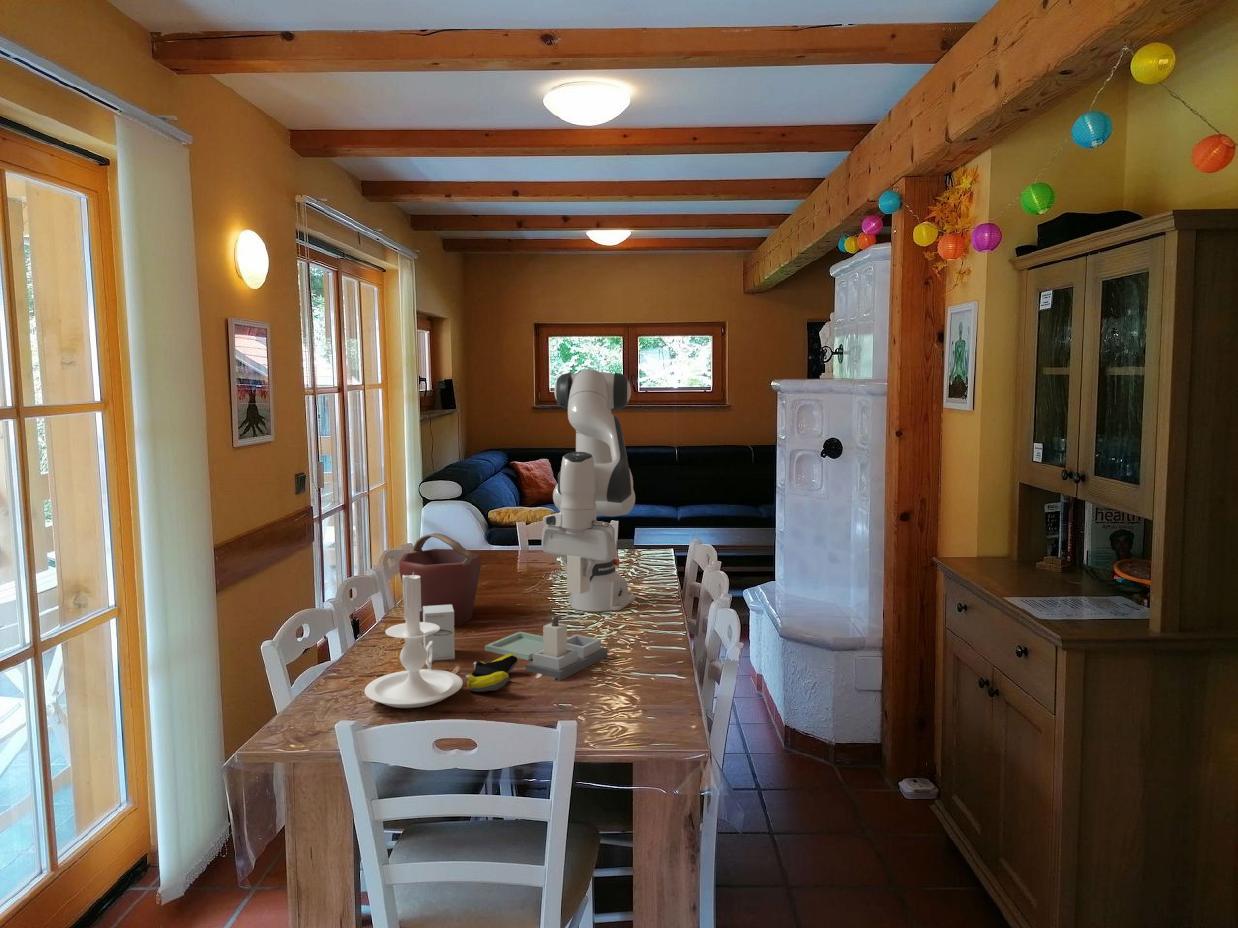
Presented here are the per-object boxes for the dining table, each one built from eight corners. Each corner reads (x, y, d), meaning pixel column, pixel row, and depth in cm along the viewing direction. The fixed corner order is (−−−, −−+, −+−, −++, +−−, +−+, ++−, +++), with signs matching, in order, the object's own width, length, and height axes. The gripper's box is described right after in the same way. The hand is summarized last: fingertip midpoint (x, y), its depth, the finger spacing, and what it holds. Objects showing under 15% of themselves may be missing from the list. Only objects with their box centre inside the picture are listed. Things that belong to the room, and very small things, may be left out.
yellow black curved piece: (519, 674, 197) (477, 673, 198) (518, 651, 197) (476, 650, 197) (507, 698, 182) (462, 697, 183) (507, 674, 182) (461, 673, 182)
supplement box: (424, 663, 204) (423, 613, 203) (423, 654, 211) (422, 605, 210) (455, 661, 206) (454, 611, 205) (453, 651, 213) (452, 603, 212)
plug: (576, 588, 209) (576, 545, 208) (589, 590, 206) (589, 546, 205) (567, 591, 205) (566, 547, 204) (580, 594, 203) (580, 549, 202)
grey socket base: (574, 649, 215) (574, 599, 213) (607, 656, 209) (607, 605, 208) (525, 672, 198) (525, 619, 196) (559, 680, 192) (559, 625, 191)
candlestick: (476, 676, 195) (474, 558, 192) (449, 719, 171) (446, 585, 168) (389, 675, 196) (385, 557, 193) (350, 717, 172) (345, 584, 169)
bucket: (491, 625, 236) (490, 537, 233) (415, 637, 224) (412, 546, 222) (460, 605, 257) (458, 524, 254) (388, 615, 245) (386, 531, 243)
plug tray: (519, 638, 224) (519, 631, 224) (562, 646, 217) (562, 640, 216) (484, 652, 212) (484, 645, 212) (528, 662, 205) (528, 655, 205)
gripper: (621, 521, 201) (621, 577, 203) (553, 513, 212) (553, 567, 214) (606, 525, 196) (606, 582, 197) (537, 517, 207) (538, 572, 208)
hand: (578, 574), depth 206 cm, fingers closed on plug, 4 cm apart
